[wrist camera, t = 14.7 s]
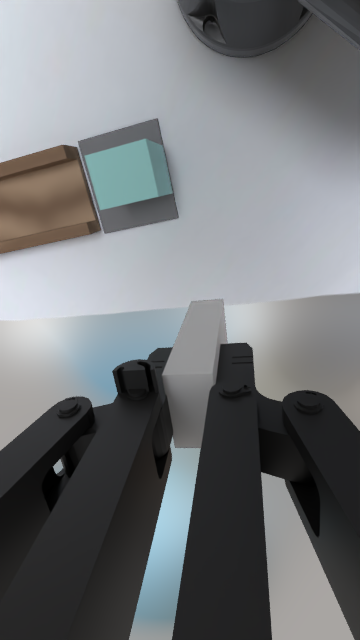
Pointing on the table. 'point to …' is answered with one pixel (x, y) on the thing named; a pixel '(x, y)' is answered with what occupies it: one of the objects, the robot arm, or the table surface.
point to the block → (129, 173)
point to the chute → (44, 199)
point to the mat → (136, 211)
